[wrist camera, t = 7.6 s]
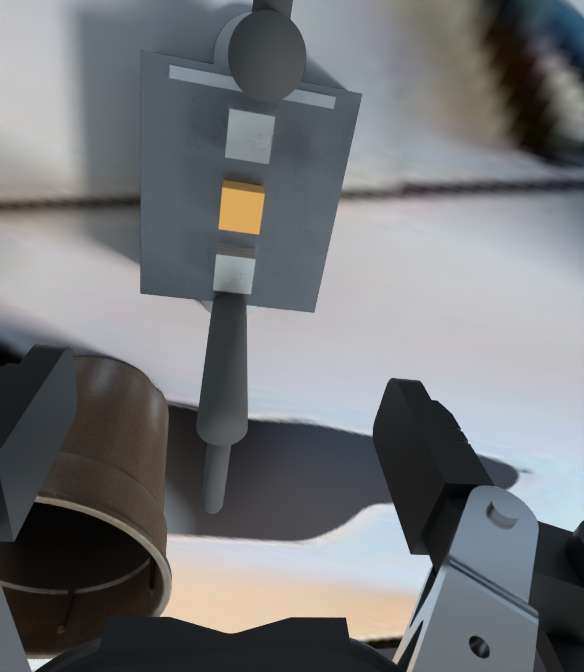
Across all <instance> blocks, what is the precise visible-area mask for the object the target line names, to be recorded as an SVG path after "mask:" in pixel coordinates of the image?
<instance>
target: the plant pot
mask: <svg viewBox="0 0 584 672" xmlns="http://www.w3.org/2000/svg"><path fill="white" fill-rule="evenodd" d="M74 366H75V378H76V390H77V409H76V414H75V418H74V421H73V424H72V426H71V428H70V430H69V432H68V434H67V436H66V438H65V440H64V442H63V444H62V446H61V448H60V450H59V452H58V454H57V456H56V458H55V460H54V462H53V464H52V466H51V468H50V470H49V472H48V474H47V476H46V478H45V480H44V483H43V485H42V487H41V489H40V491H39V493H38V495H37V497H36V499H35V501H34V503H33V505H32V507H31V509H30V511H29V513H28V515H27V517H26V519H25V521H24V523H23V525H22V527H21V529H20V531H19V533H18V535H17V537H16V539H15V541H14V542H2V541H0V584H1V587H2V589H3V592H4V595H5V598H6V601H7V603H8V606H9V609H10V612H11V615H12V618H13V620H14V623H15V626H16V629H17V632H18V635H19V637H20V640H21V643H22V646H23V649H24V652H25V654H26V657H27V659H52V658H55V657H57V656H58V655H60V654H62V653H64V652H66V651H68V650H70V649H71V648H73V647H76V646H78V645H81V644H83V643H86V642H88V641H91V640H94V639H97V638H101V637H102V635H103V631H104V627H105V624H106V620H107V617H160V615H161V614H162V613H163V611H164V610H165V608H166V606H167V604H168V602H169V599H170V596H171V589H172V575H171V569H170V565H169V563H168V560H167V558H166V542H167V525H166V520H165V517H164V514H163V511H164V510H163V509H164V487H165V466H166V452H167V435H168V422H169V413H168V405H167V402H166V400H165V397H164V395H163V393H162V392H160V391H158V390H157V389H156V388H155V386H154V385H153V384H152V383H151V381H150V380H149V378H148V377H147V376H146V375H145V374H144V373H142V372H141V371H139V370H137V369H136V368H134V367H132V366H130V365H127V364H125V363H122V362H119V361H116V360H112V359H107V358H101V357H92V356H81V357H74Z"/></svg>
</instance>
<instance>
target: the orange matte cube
mask: <svg viewBox="0 0 584 672" xmlns="http://www.w3.org/2000/svg"><path fill="white" fill-rule="evenodd" d="M264 196H265V192H264V186H260V185H253V184H247V183H241V182H234V181H228V180H224V181H223V186H222V196H221V207H220V218H219V229H221V230H228V231H236V232H243V233H250V234H258V235H259V232H260V225H261V218H262V211H263V203H264Z"/></svg>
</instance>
